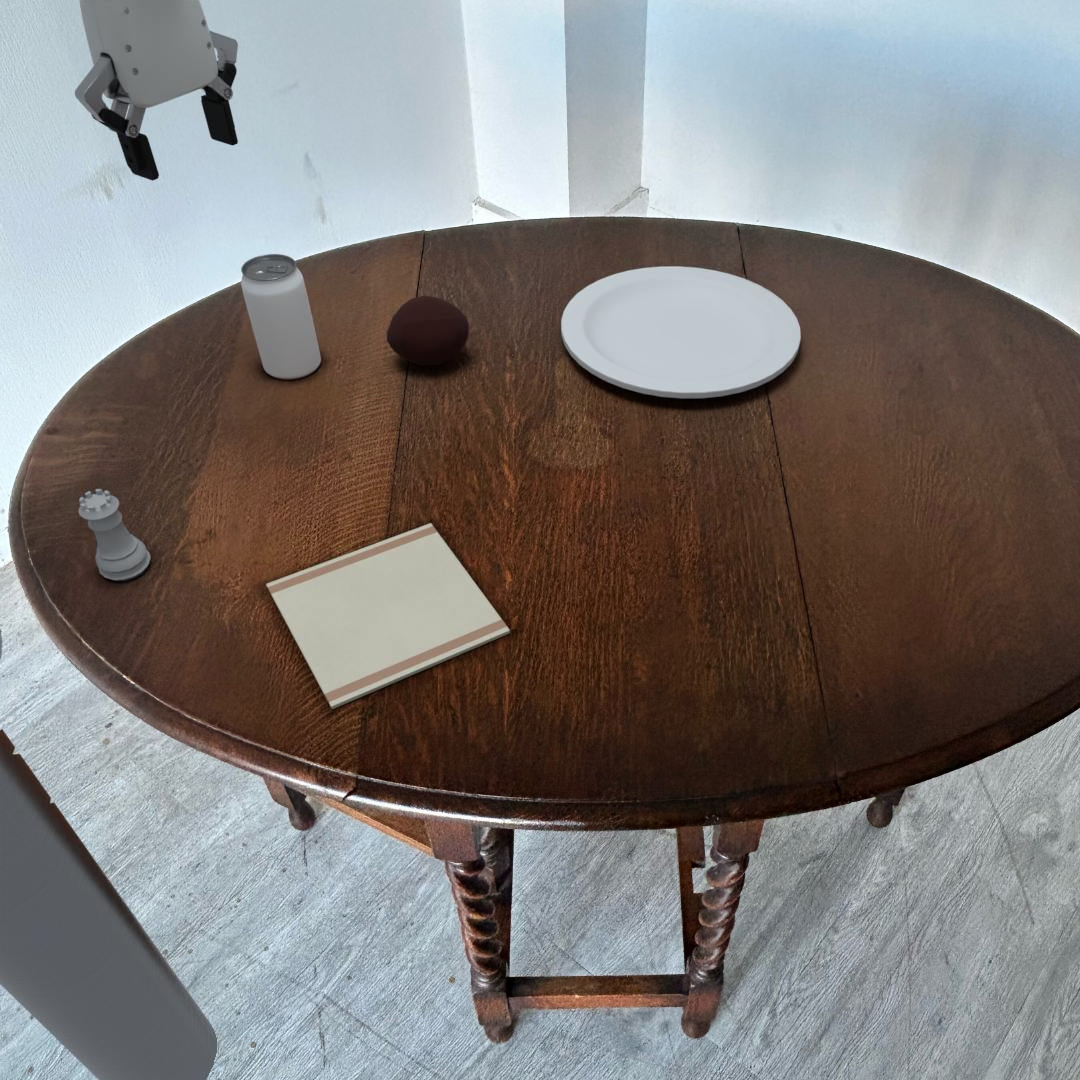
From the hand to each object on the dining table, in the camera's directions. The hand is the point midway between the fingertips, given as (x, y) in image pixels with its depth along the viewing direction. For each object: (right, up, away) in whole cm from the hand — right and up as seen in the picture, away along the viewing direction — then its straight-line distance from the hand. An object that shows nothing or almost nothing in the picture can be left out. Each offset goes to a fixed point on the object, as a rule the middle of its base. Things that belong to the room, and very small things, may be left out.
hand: (186, 158), depth 95 cm
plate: (+49, -12, +22) cm, 55 cm away
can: (+5, -16, +18) cm, 24 cm away
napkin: (+21, -43, -9) cm, 49 cm away
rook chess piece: (-3, -40, -5) cm, 40 cm away
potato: (+20, -15, +19) cm, 31 cm away
